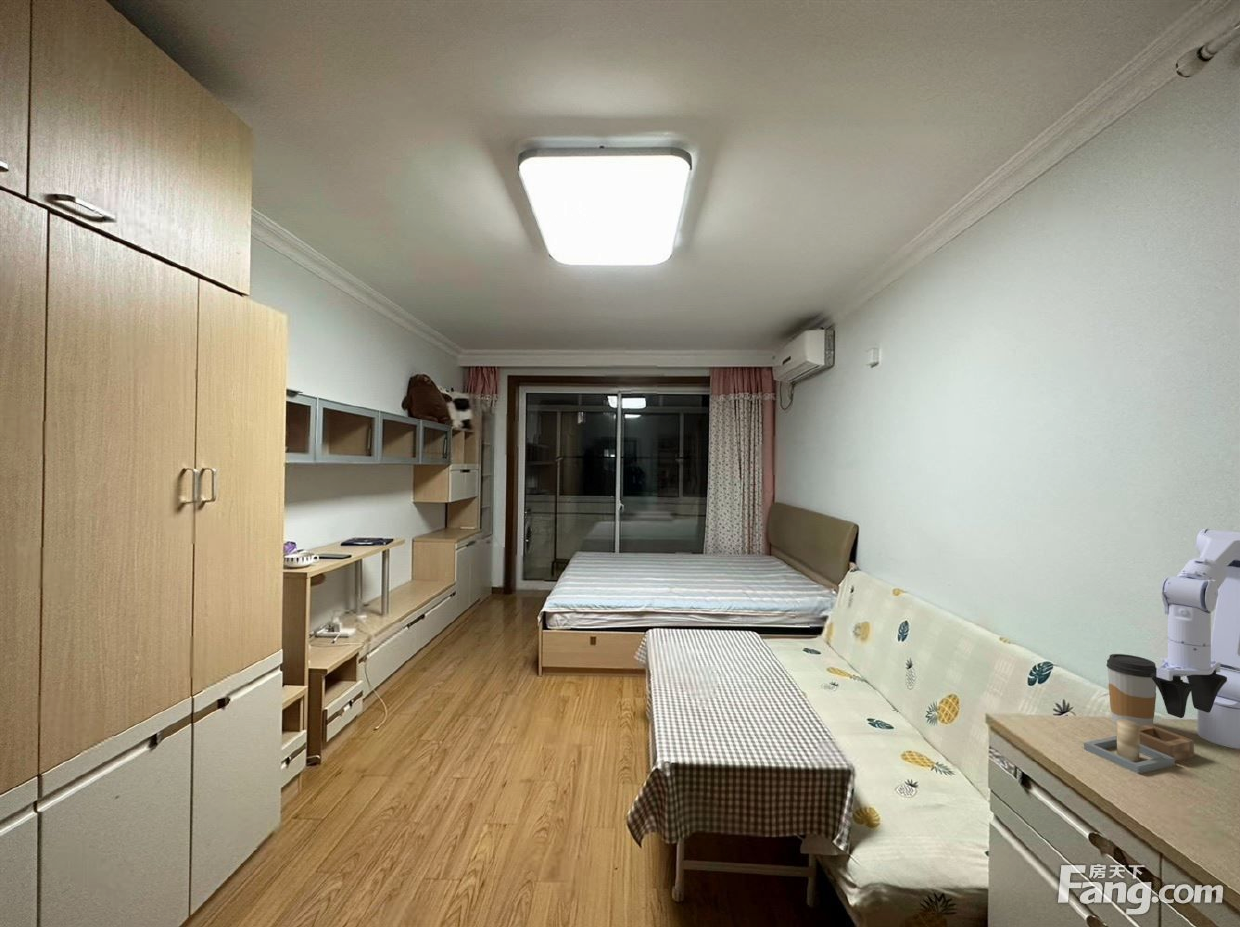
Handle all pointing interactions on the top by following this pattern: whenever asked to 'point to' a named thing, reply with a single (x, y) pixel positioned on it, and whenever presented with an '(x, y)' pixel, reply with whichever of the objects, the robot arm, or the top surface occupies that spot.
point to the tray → (1139, 767)
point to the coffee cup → (1131, 688)
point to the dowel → (1128, 740)
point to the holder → (1166, 742)
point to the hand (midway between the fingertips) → (1188, 713)
